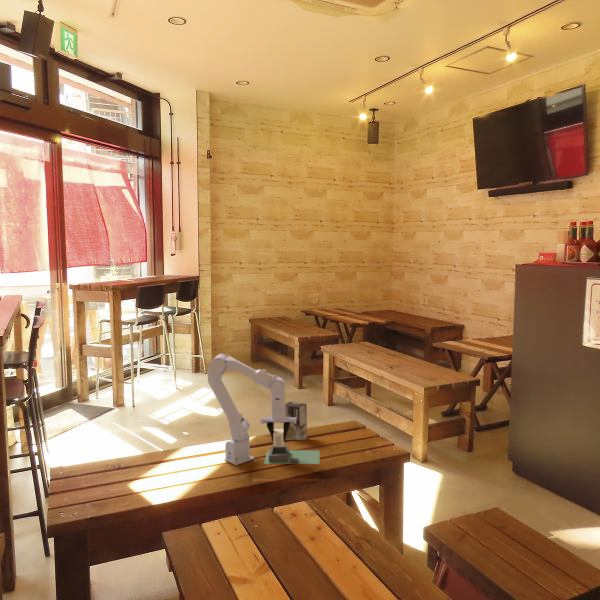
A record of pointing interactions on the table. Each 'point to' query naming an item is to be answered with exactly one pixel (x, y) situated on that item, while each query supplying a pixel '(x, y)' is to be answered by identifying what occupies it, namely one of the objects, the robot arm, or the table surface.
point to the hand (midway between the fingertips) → (278, 440)
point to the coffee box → (300, 428)
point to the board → (291, 456)
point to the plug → (278, 437)
